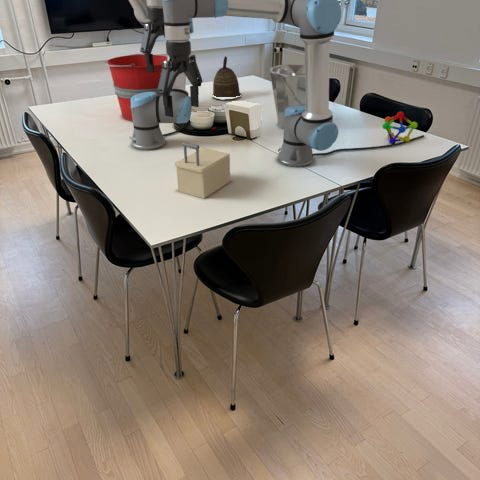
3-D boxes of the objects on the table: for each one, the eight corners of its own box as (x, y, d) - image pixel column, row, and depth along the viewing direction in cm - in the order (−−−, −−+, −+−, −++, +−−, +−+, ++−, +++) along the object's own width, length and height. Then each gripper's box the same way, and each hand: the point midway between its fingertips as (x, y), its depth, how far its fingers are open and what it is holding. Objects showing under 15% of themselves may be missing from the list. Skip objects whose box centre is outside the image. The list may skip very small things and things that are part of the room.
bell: (227, 105, 294) (202, 96, 282) (238, 66, 289) (213, 55, 277) (243, 108, 280) (217, 98, 268) (255, 66, 275) (229, 55, 263)
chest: (204, 198, 160) (202, 172, 154) (178, 190, 165) (176, 165, 160) (230, 181, 172) (229, 156, 167) (205, 175, 178) (204, 150, 172)
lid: (201, 173, 154) (200, 149, 149) (174, 166, 159) (173, 142, 155) (229, 156, 167) (229, 134, 162) (204, 150, 172) (203, 128, 168)
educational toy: (377, 146, 209) (379, 114, 202) (384, 138, 219) (386, 107, 211) (411, 149, 202) (415, 116, 195) (417, 141, 212) (420, 109, 204)
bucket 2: (296, 138, 215) (301, 78, 201) (255, 124, 234) (256, 68, 219) (335, 125, 232) (342, 70, 217) (294, 113, 251) (297, 61, 236)
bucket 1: (121, 106, 263) (114, 51, 247) (180, 106, 262) (176, 52, 246) (104, 123, 233) (95, 63, 217) (170, 124, 232) (166, 64, 216)
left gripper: (141, 10, 148) (148, 76, 160) (187, 5, 166) (190, 65, 178) (125, 9, 152) (133, 73, 163) (171, 4, 170) (175, 63, 181)
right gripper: (160, 47, 123) (166, 122, 134) (211, 36, 141) (213, 104, 152) (140, 44, 126) (148, 118, 137) (192, 35, 144) (195, 101, 156)
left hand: (162, 69), depth 170 cm, fingers open, 13 cm apart
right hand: (182, 111), depth 145 cm, fingers open, 13 cm apart
